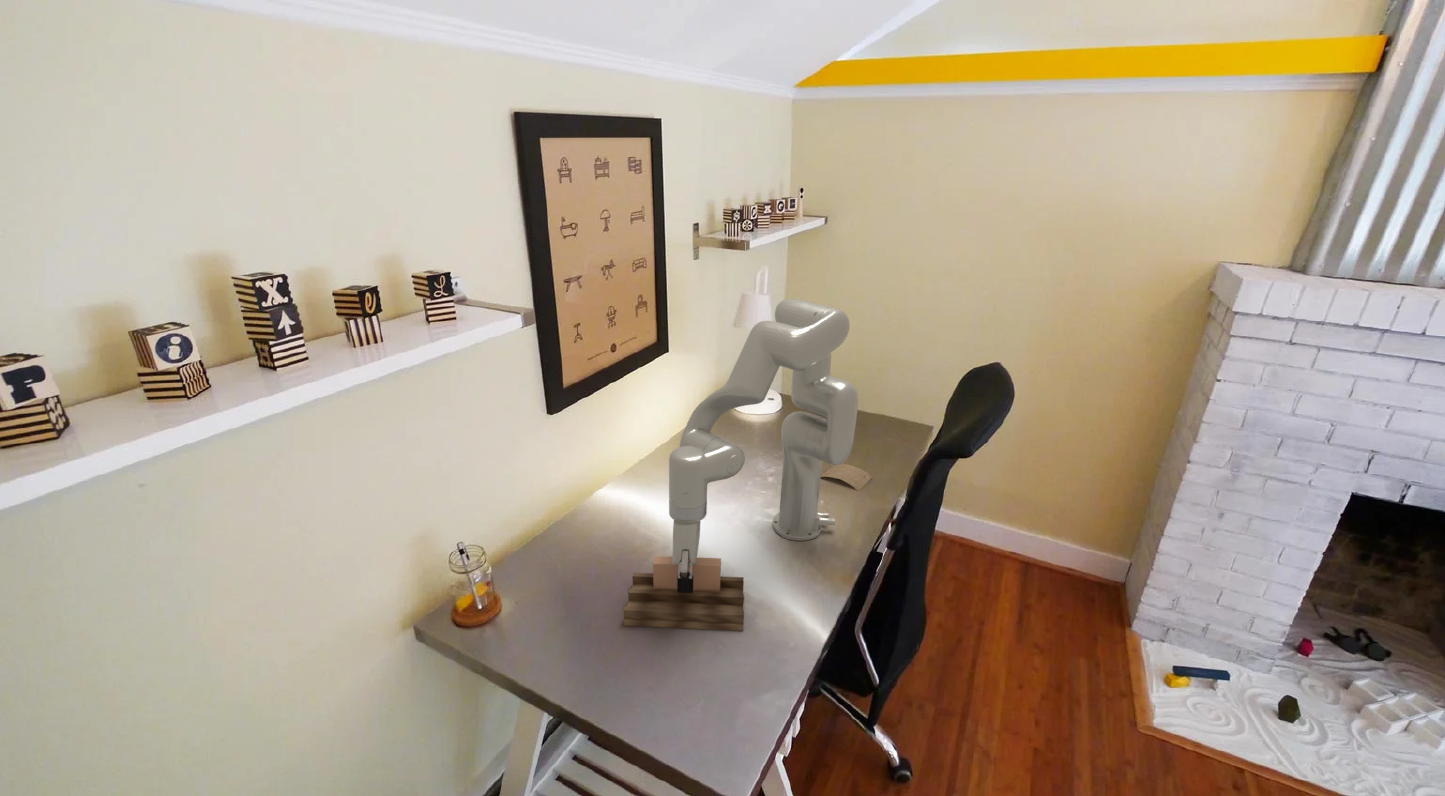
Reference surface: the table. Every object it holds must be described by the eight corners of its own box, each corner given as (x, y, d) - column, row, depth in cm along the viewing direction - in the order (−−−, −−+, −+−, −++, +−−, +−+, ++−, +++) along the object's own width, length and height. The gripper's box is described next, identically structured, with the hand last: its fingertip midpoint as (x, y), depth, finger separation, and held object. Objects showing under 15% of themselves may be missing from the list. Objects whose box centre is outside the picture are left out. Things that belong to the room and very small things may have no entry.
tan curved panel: (873, 480, 177) (875, 472, 176) (861, 494, 170) (862, 486, 169) (829, 466, 185) (830, 458, 184) (815, 479, 177) (816, 471, 176)
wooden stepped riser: (742, 589, 129) (743, 576, 128) (743, 630, 118) (744, 617, 117) (634, 584, 130) (633, 571, 128) (623, 625, 118) (623, 611, 117)
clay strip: (719, 589, 127) (720, 558, 124) (719, 597, 125) (720, 565, 122) (655, 586, 127) (654, 556, 124) (653, 594, 125) (653, 563, 122)
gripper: (673, 484, 126) (673, 550, 132) (664, 531, 110) (664, 604, 116) (708, 485, 126) (707, 552, 132) (704, 532, 110) (702, 605, 116)
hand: (687, 576), depth 124 cm, fingers open, 9 cm apart
